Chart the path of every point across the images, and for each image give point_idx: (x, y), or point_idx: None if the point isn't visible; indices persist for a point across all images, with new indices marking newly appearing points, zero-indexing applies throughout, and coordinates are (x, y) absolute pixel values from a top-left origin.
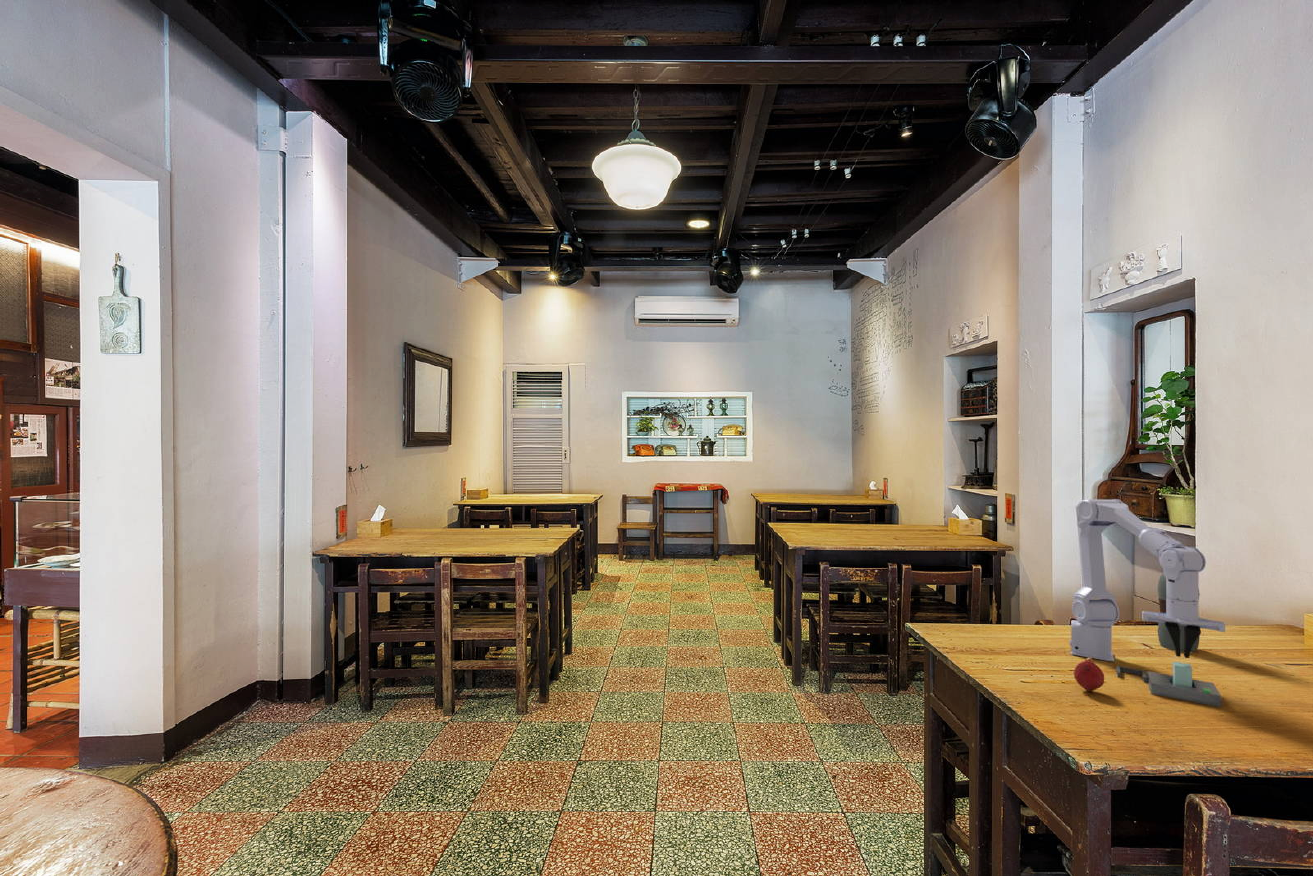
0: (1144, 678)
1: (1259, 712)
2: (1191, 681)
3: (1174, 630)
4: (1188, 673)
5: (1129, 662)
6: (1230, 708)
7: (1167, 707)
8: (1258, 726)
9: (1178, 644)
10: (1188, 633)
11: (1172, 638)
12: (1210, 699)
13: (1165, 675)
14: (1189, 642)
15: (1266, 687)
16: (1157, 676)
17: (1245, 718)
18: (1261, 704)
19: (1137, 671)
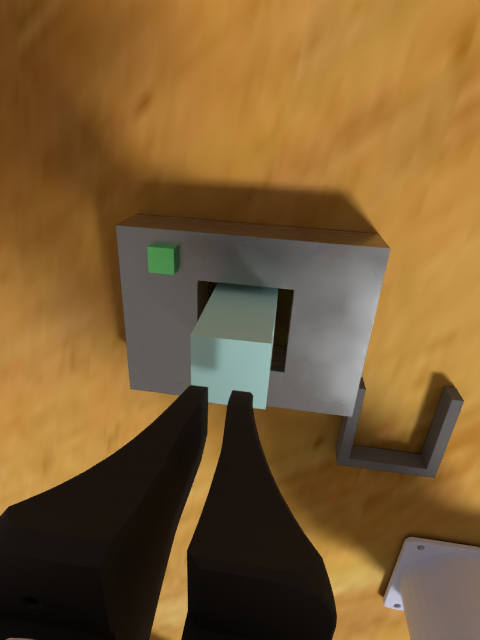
0: (362, 386)
1: (25, 242)
2: (209, 301)
3: (253, 554)
4: (213, 321)
5: (347, 551)
6: (107, 228)
7: (360, 51)
8: (24, 32)
9: (232, 444)
10: (113, 519)
11: (273, 485)
12: (161, 222)
13: (289, 396)
14: (146, 456)
15: (16, 491)
16: (328, 366)
17: (65, 123)
18: (22, 337)
19: (362, 456)
